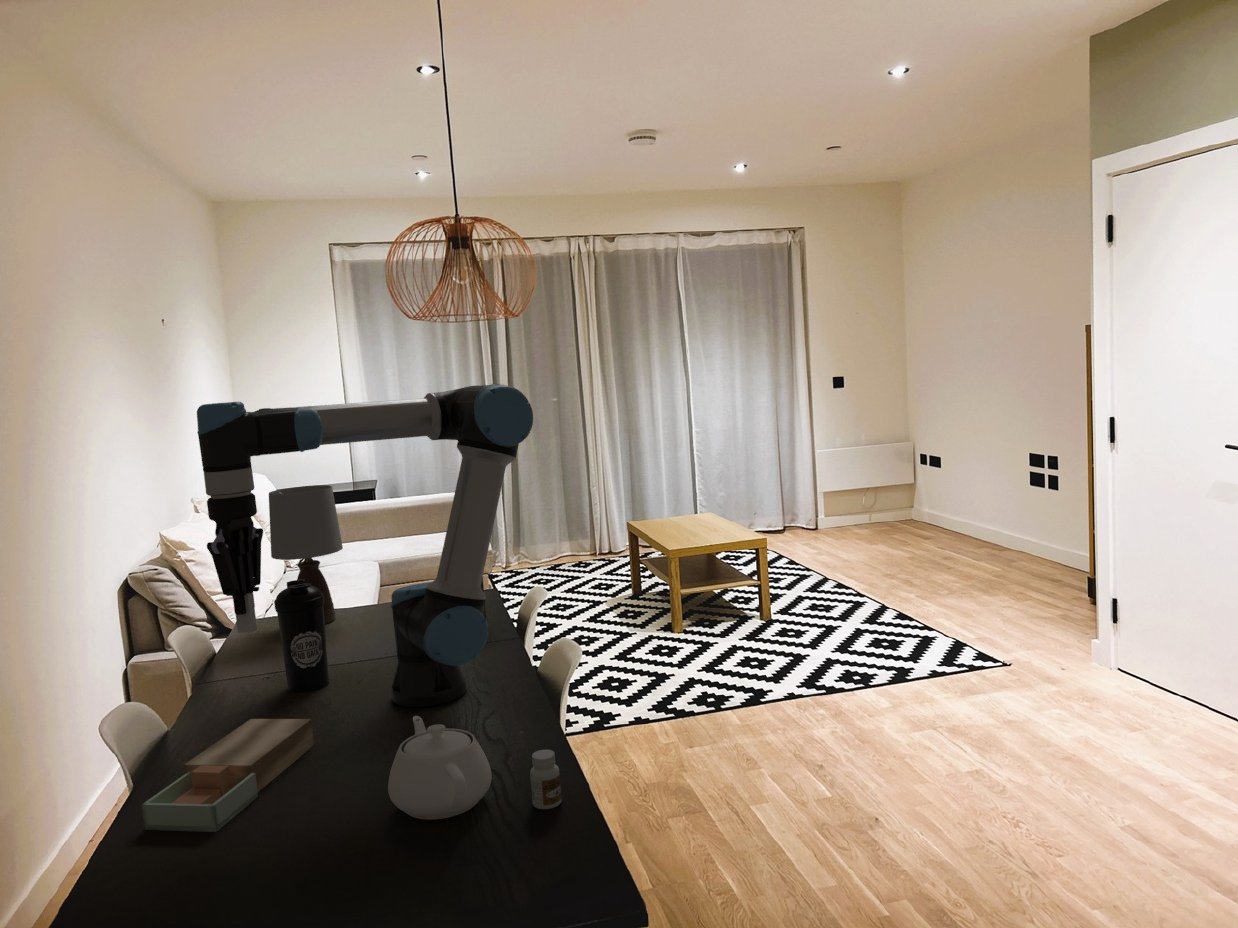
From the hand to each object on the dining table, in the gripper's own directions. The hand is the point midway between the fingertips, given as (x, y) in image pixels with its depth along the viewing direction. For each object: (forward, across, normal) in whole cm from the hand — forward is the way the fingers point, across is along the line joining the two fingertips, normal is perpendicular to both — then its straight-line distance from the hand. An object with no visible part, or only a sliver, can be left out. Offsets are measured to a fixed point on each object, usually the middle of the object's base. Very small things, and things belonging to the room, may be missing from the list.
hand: (247, 630), depth 156 cm
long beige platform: (+24, +1, -1) cm, 24 cm away
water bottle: (+24, -39, -13) cm, 48 cm away
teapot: (+25, +11, +37) cm, 46 cm away
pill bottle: (+25, +11, +54) cm, 60 cm away
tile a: (+21, +12, 0) cm, 24 cm away
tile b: (+21, +18, 0) cm, 27 cm away
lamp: (+25, -89, -39) cm, 100 cm away
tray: (+24, +17, 0) cm, 29 cm away
